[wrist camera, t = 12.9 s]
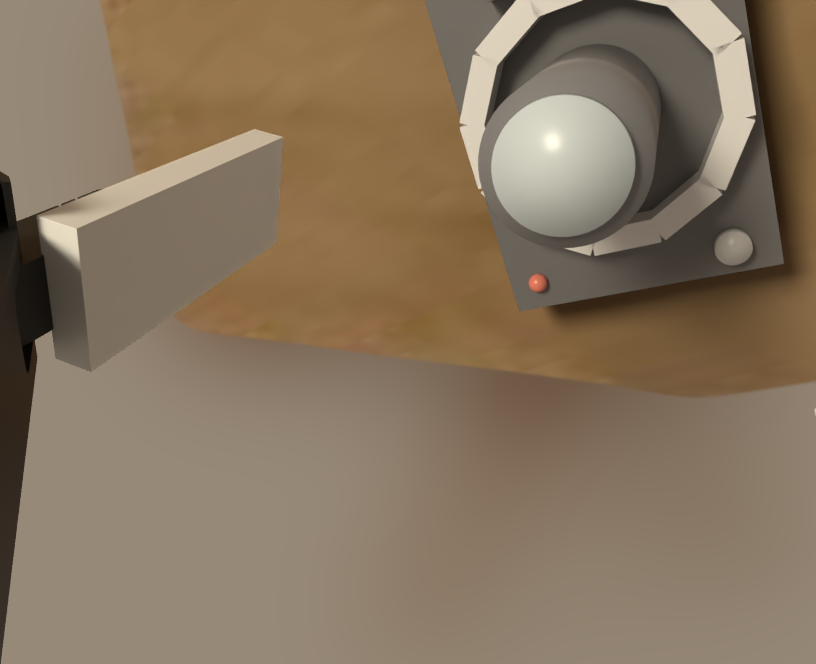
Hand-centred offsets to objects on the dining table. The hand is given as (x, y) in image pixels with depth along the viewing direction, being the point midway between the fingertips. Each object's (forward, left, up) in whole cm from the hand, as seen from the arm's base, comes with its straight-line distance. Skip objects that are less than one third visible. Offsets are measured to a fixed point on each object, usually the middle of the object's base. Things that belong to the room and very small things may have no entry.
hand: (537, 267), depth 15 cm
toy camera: (0, -1, -24) cm, 24 cm away
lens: (0, -1, -20) cm, 20 cm away
